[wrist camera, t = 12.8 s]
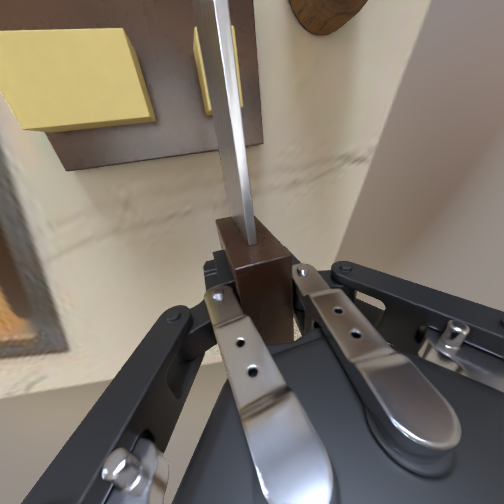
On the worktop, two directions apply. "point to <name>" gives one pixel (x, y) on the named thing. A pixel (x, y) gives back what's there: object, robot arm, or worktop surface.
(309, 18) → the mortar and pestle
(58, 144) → the butter board
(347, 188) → the worktop surface
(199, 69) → the butter pat
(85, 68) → the butter stick
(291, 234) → the worktop surface
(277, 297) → the knife
